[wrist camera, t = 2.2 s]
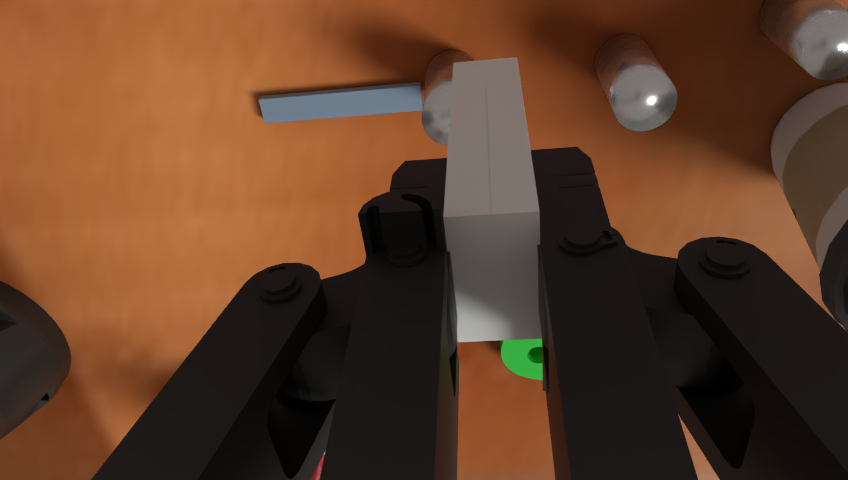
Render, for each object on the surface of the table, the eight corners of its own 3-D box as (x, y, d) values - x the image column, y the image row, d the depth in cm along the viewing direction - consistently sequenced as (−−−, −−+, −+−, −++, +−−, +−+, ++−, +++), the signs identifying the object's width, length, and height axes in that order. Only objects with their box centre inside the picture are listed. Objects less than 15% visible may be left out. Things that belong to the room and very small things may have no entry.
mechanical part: (529, 235, 47) (540, 310, 41) (611, 248, 47) (635, 325, 41) (492, 354, 54) (496, 435, 48) (564, 365, 54) (578, 446, 48)
